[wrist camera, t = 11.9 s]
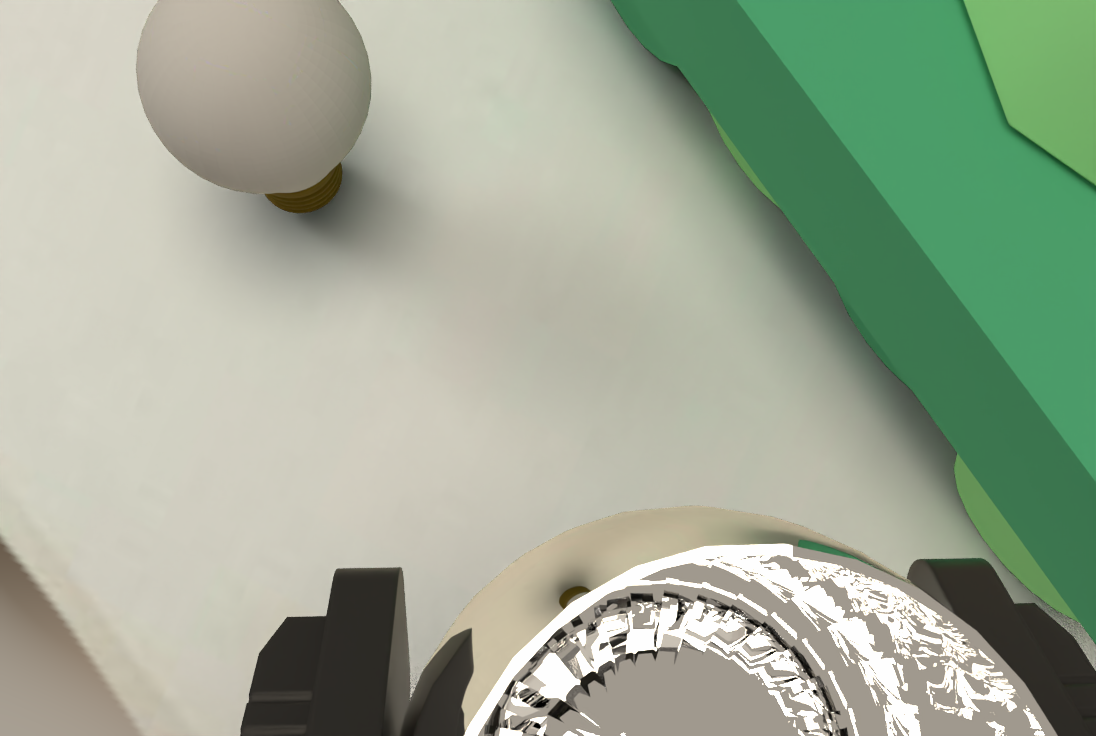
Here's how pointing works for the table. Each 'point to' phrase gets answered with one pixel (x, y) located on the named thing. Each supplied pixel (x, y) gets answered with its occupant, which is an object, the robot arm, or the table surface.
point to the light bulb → (257, 93)
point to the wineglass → (712, 641)
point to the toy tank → (938, 222)
